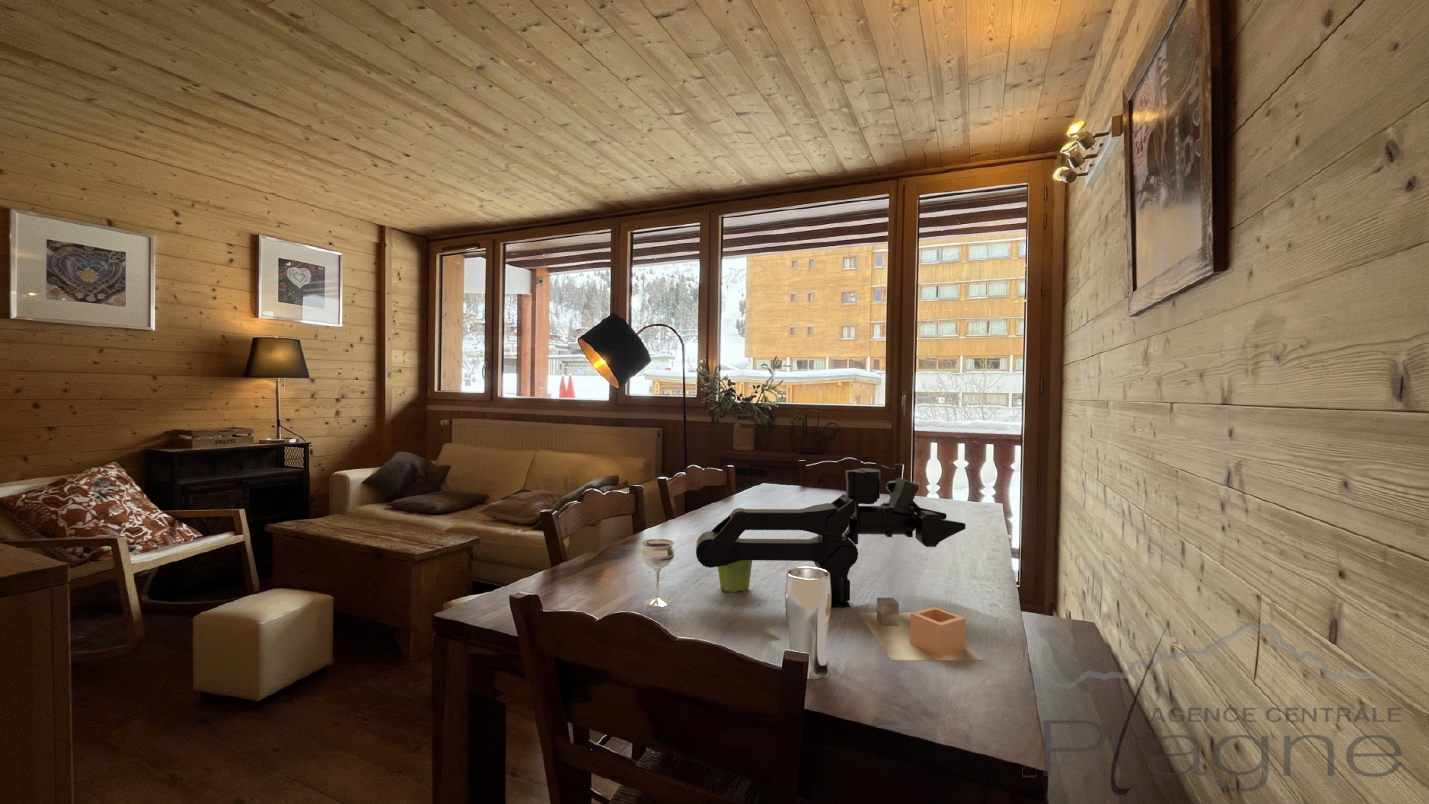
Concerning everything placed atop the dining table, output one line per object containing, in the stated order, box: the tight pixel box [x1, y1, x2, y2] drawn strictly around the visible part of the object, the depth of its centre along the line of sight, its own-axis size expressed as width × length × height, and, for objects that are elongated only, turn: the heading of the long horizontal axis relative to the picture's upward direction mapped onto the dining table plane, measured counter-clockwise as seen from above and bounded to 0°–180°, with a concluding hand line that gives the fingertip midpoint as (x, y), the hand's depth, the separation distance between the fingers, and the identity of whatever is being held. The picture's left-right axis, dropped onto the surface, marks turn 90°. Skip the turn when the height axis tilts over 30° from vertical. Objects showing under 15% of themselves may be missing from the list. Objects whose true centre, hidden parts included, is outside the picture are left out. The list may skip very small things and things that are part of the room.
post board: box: [858, 597, 983, 662], centre depth 103 cm, size 14×20×6 cm
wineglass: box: [640, 538, 675, 608], centre depth 122 cm, size 7×7×12 cm
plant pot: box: [717, 560, 753, 593], centre depth 130 cm, size 9×9×9 cm
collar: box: [909, 606, 967, 657], centre depth 98 cm, size 6×6×5 cm
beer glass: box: [784, 566, 832, 680], centre depth 92 cm, size 7×7×15 cm
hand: (955, 520), depth 123 cm, fingers open, 9 cm apart
